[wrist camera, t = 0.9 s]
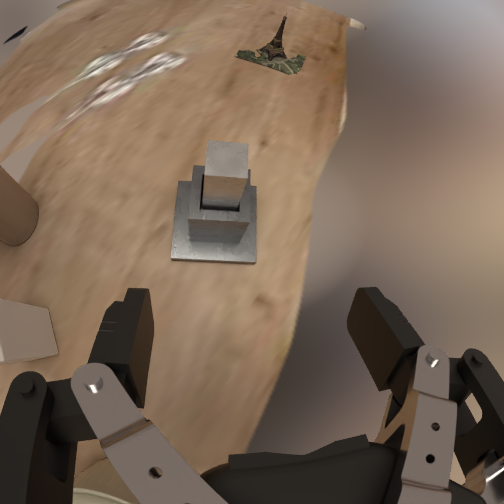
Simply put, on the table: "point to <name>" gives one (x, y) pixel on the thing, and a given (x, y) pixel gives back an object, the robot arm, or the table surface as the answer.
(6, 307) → the milk carton
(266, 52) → the eiffel tower figurine
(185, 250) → the jack stand base
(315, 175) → the table surface
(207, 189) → the column
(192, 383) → the table surface
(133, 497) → the canister
